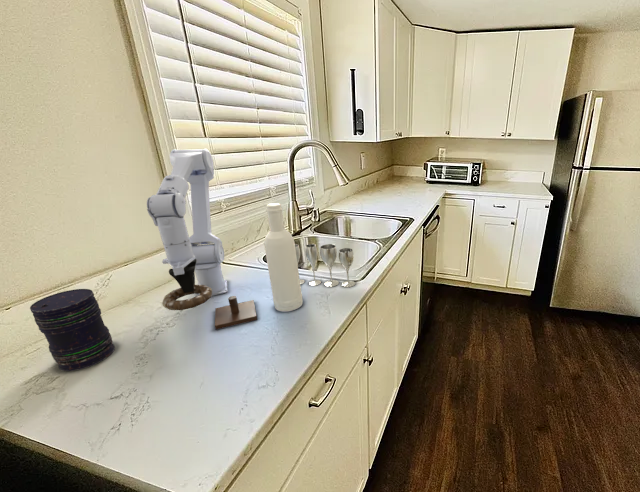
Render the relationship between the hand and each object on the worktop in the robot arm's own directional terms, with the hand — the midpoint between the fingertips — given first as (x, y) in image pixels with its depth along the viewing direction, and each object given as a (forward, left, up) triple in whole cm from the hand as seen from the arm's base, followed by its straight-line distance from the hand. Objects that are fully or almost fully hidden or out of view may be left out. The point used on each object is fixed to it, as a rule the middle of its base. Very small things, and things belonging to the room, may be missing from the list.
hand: (189, 289), depth 87 cm
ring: (+4, 0, 0) cm, 4 cm away
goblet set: (-5, +34, -9) cm, 35 cm away
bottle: (+6, +24, -9) cm, 26 cm away
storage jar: (+8, -21, -9) cm, 24 cm away
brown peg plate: (+5, +10, -8) cm, 14 cm away
